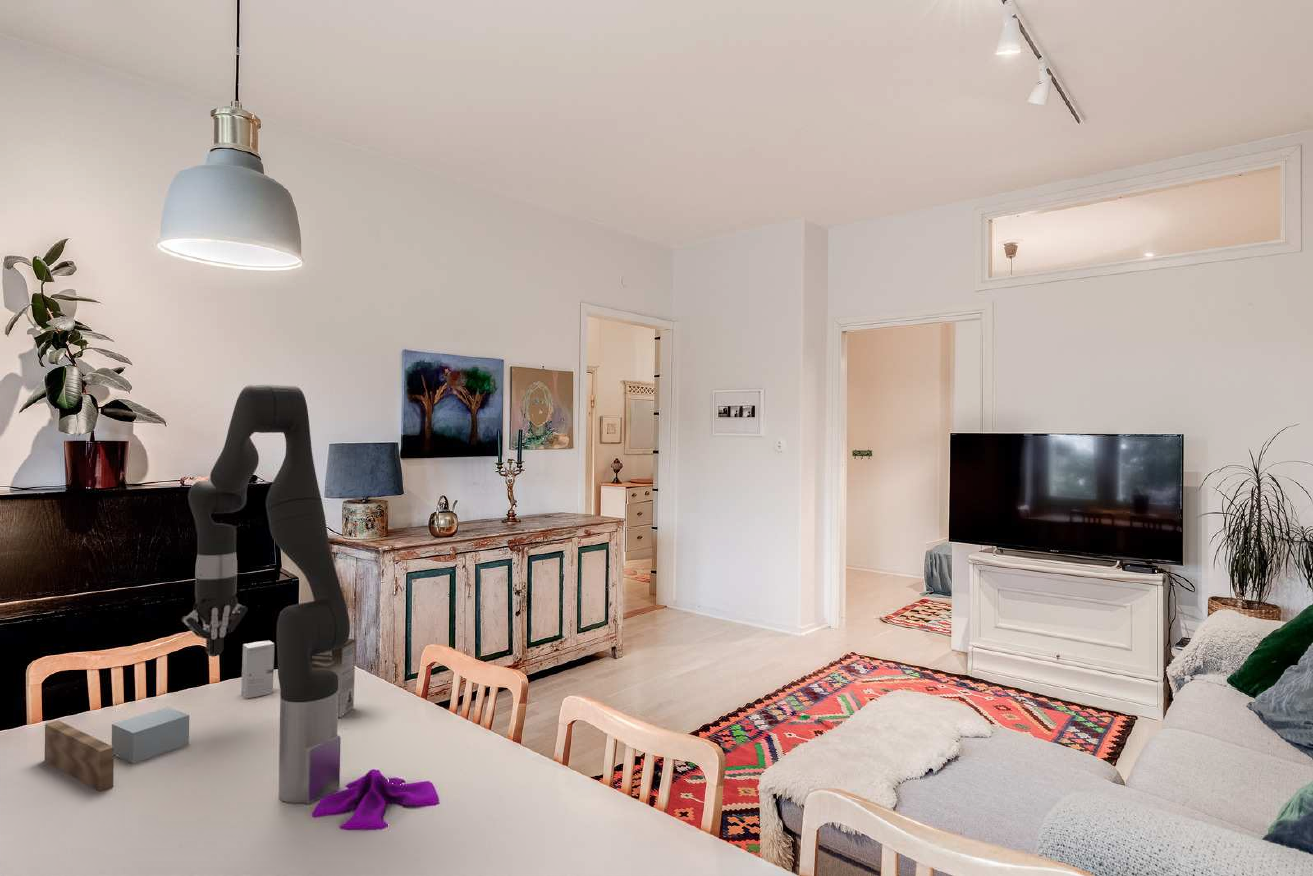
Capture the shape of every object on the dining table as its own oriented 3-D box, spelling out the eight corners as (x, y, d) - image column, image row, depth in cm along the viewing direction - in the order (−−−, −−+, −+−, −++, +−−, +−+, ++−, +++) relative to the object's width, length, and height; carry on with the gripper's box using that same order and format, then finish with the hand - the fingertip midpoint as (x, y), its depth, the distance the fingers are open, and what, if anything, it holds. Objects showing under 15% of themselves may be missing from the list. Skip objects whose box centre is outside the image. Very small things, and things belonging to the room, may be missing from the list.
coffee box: (301, 716, 156) (302, 644, 156) (317, 705, 163) (318, 636, 163) (340, 719, 155) (341, 646, 155) (355, 708, 162) (356, 638, 162)
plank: (113, 786, 124) (113, 747, 124) (99, 791, 123) (100, 751, 123) (57, 756, 135) (58, 720, 135) (44, 760, 134) (45, 723, 134)
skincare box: (245, 699, 165) (246, 648, 165) (240, 694, 169) (241, 644, 169) (274, 693, 170) (275, 643, 170) (268, 688, 173) (269, 639, 173)
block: (188, 744, 142) (189, 715, 142) (132, 764, 133) (133, 733, 133) (167, 736, 146) (167, 707, 146) (111, 754, 137) (111, 724, 137)
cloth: (459, 794, 125) (459, 760, 125) (373, 848, 109) (374, 808, 109) (371, 765, 135) (372, 733, 135) (281, 810, 119) (282, 773, 119)
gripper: (192, 581, 142) (191, 667, 142) (257, 571, 154) (255, 650, 154) (173, 577, 146) (171, 660, 146) (237, 567, 157) (236, 644, 157)
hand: (214, 655), depth 150 cm, fingers closed
